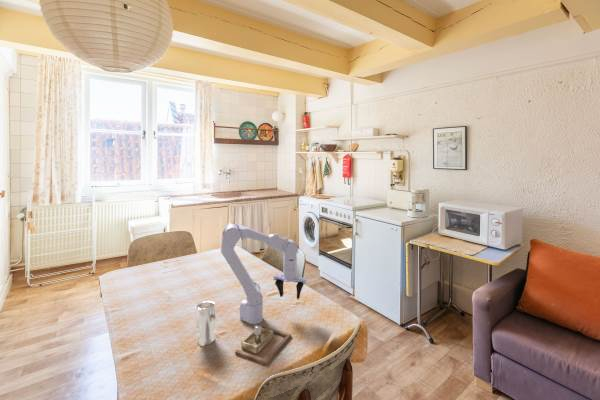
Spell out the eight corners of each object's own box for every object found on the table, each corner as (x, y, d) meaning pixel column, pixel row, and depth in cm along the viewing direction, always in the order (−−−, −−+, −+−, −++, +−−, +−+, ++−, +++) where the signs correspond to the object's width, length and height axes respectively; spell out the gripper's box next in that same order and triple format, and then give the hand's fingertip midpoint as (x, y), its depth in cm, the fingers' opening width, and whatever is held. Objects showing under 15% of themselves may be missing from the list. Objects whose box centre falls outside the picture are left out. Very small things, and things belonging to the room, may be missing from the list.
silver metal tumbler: (218, 336, 117) (217, 300, 115) (214, 347, 110) (212, 309, 108) (200, 336, 116) (199, 300, 114) (195, 347, 109) (193, 309, 107)
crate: (241, 348, 108) (241, 331, 107) (258, 332, 118) (258, 317, 117) (257, 354, 105) (257, 337, 104) (273, 337, 115) (273, 321, 114)
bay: (235, 356, 105) (235, 351, 105) (263, 330, 121) (263, 325, 121) (266, 368, 99) (266, 362, 99) (291, 338, 115) (291, 334, 115)
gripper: (270, 268, 126) (271, 298, 128) (303, 272, 122) (303, 303, 124) (276, 263, 133) (276, 291, 135) (307, 266, 129) (307, 296, 131)
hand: (289, 297), depth 130 cm, fingers open, 7 cm apart
